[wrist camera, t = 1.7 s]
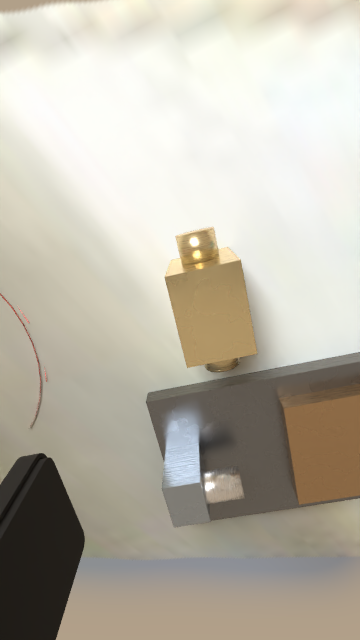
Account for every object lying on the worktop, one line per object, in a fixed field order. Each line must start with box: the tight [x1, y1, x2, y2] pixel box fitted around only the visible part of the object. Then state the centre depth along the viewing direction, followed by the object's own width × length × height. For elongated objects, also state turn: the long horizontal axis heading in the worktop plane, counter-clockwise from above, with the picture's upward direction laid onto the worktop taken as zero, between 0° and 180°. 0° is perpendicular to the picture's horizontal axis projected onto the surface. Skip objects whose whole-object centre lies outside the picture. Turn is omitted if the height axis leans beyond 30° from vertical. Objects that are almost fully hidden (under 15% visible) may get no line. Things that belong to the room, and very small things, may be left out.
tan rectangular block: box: [165, 227, 257, 372], centre depth 24 cm, size 4×10×7 cm, turn 13°
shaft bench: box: [146, 352, 360, 527], centre depth 28 cm, size 30×14×6 cm, turn 103°
